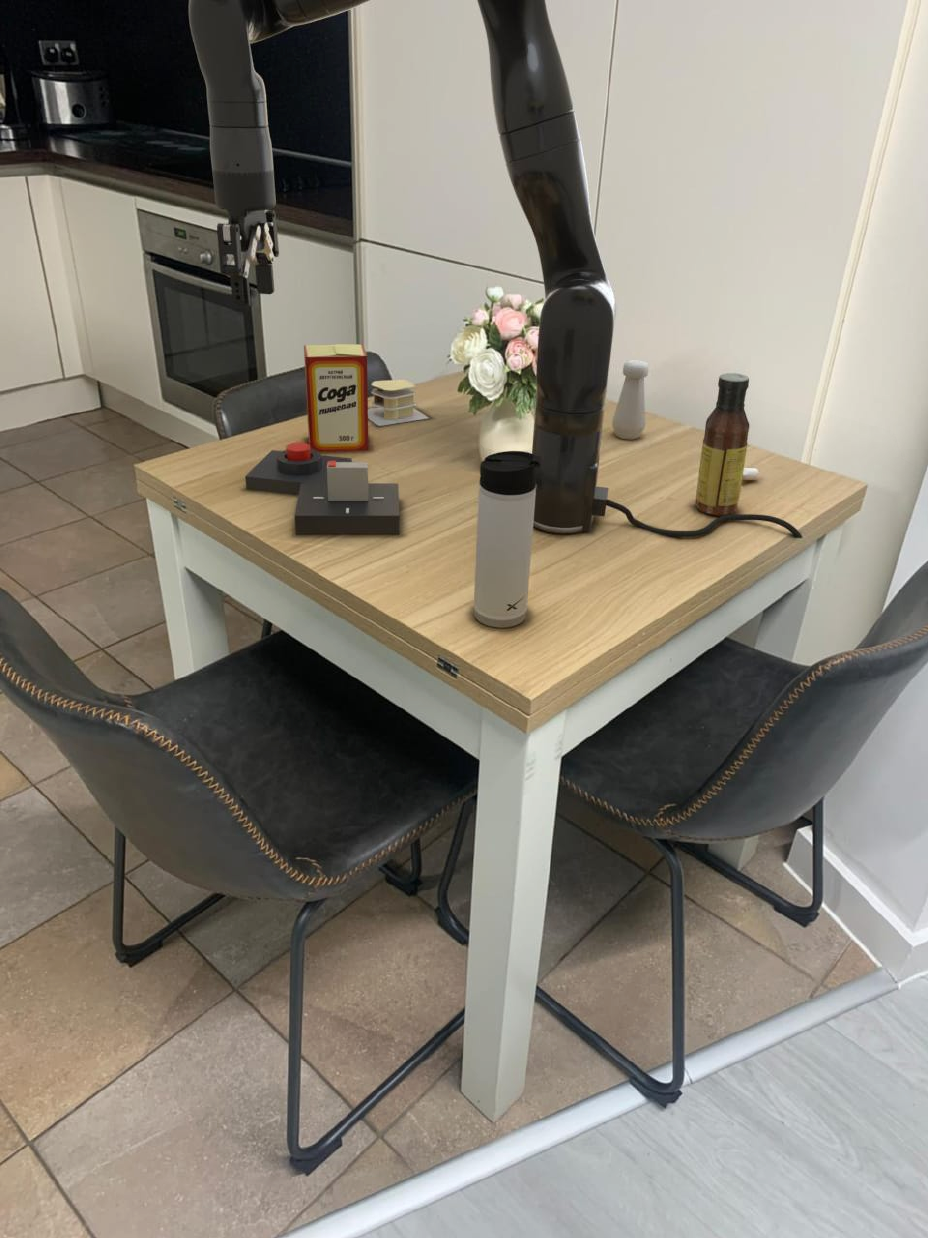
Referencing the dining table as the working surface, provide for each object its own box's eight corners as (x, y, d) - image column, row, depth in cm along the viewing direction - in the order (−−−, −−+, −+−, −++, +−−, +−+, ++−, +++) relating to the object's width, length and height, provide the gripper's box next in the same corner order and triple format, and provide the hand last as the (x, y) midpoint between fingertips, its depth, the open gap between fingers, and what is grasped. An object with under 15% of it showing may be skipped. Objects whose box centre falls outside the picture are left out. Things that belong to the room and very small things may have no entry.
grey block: (368, 495, 133) (367, 460, 130) (368, 501, 131) (367, 465, 129) (328, 495, 133) (327, 460, 130) (328, 501, 131) (326, 465, 128)
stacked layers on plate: (406, 403, 177) (406, 374, 174) (429, 418, 170) (429, 388, 168) (357, 410, 173) (356, 380, 170) (378, 426, 166) (378, 395, 163)
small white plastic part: (765, 486, 149) (769, 468, 147) (727, 485, 148) (730, 466, 147) (759, 477, 152) (763, 459, 150) (722, 476, 152) (725, 458, 150)
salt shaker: (605, 430, 168) (613, 357, 161) (634, 428, 169) (644, 355, 163) (619, 442, 163) (628, 367, 156) (649, 439, 165) (660, 365, 158)
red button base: (352, 471, 148) (351, 447, 146) (330, 499, 139) (329, 473, 137) (272, 462, 150) (271, 438, 148) (246, 489, 141) (243, 464, 139)
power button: (314, 454, 144) (313, 443, 143) (306, 463, 141) (306, 452, 140) (291, 452, 144) (291, 441, 143) (283, 460, 141) (282, 449, 140)
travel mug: (524, 632, 109) (537, 469, 99) (468, 624, 110) (475, 462, 100) (532, 605, 114) (545, 448, 104) (478, 598, 115) (486, 442, 105)
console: (398, 502, 139) (398, 482, 137) (399, 535, 130) (399, 514, 128) (301, 502, 138) (300, 481, 136) (295, 535, 128) (294, 514, 127)
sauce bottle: (737, 503, 143) (763, 372, 132) (735, 520, 137) (762, 385, 127) (693, 497, 144) (715, 367, 134) (690, 514, 139) (712, 380, 128)
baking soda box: (310, 452, 154) (305, 354, 146) (308, 438, 160) (303, 342, 151) (368, 450, 156) (366, 353, 148) (365, 436, 161) (363, 342, 153)
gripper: (249, 173, 112) (261, 314, 120) (290, 162, 124) (299, 290, 132) (189, 171, 113) (205, 310, 121) (236, 159, 125) (248, 287, 133)
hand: (254, 300), depth 127 cm, fingers open, 8 cm apart
